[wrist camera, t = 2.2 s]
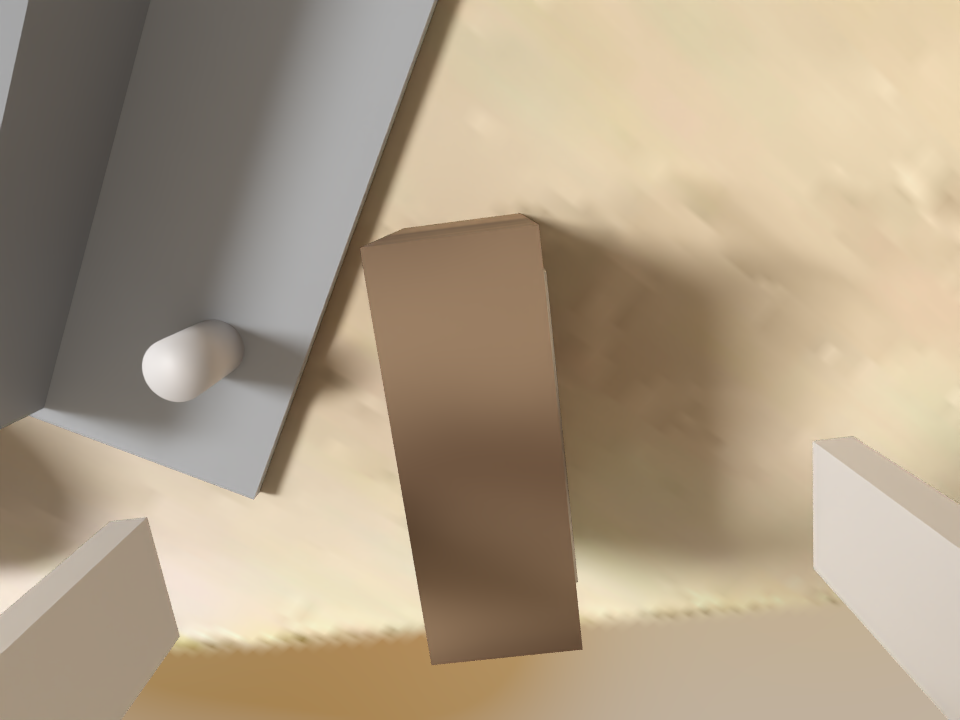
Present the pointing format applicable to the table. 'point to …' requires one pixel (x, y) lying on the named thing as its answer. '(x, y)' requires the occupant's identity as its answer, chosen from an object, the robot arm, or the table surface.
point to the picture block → (477, 434)
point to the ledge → (184, 210)
